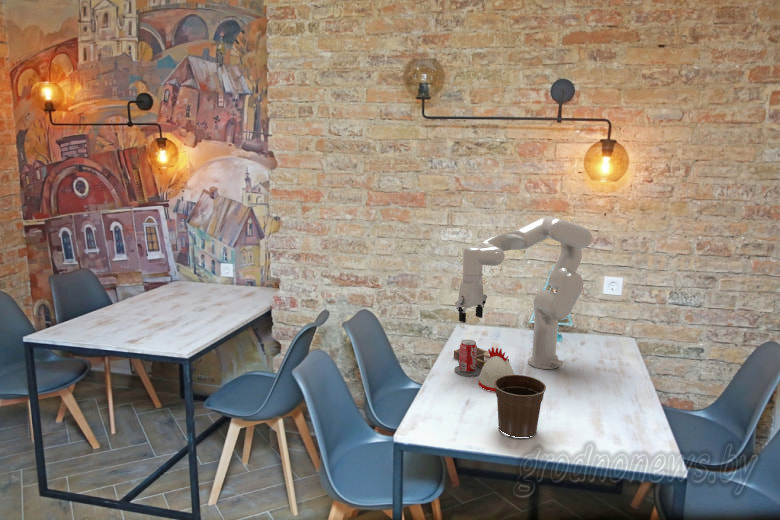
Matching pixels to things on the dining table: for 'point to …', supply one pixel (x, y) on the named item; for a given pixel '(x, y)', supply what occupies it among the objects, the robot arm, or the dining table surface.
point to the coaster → (474, 373)
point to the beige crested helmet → (494, 369)
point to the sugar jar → (486, 356)
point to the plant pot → (519, 404)
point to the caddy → (479, 357)
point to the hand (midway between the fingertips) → (470, 319)
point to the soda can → (468, 356)
